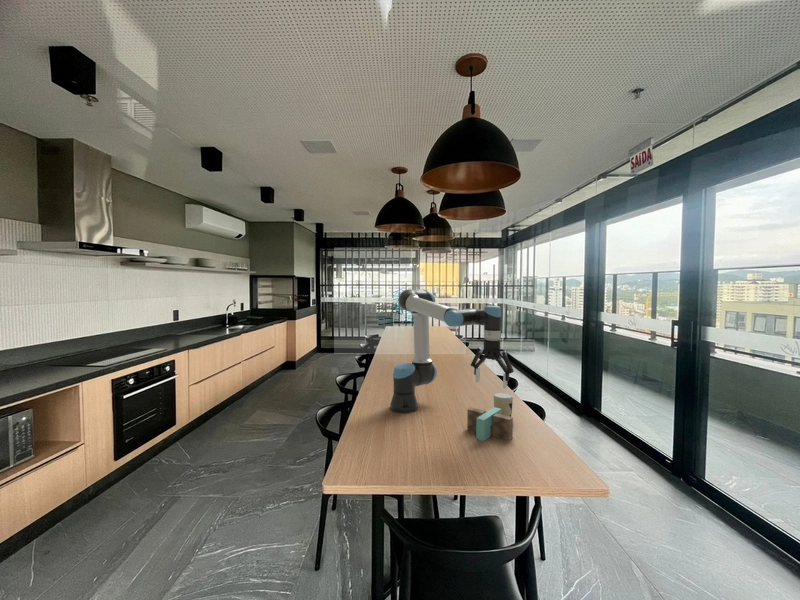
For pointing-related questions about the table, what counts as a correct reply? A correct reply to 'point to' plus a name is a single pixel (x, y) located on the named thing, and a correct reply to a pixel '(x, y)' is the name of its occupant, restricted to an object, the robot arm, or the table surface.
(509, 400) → the coffee cup
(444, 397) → the table surface
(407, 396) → the robot arm
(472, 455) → the table surface
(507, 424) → the walnut rail
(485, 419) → the teal rectangular block
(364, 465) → the table surface
